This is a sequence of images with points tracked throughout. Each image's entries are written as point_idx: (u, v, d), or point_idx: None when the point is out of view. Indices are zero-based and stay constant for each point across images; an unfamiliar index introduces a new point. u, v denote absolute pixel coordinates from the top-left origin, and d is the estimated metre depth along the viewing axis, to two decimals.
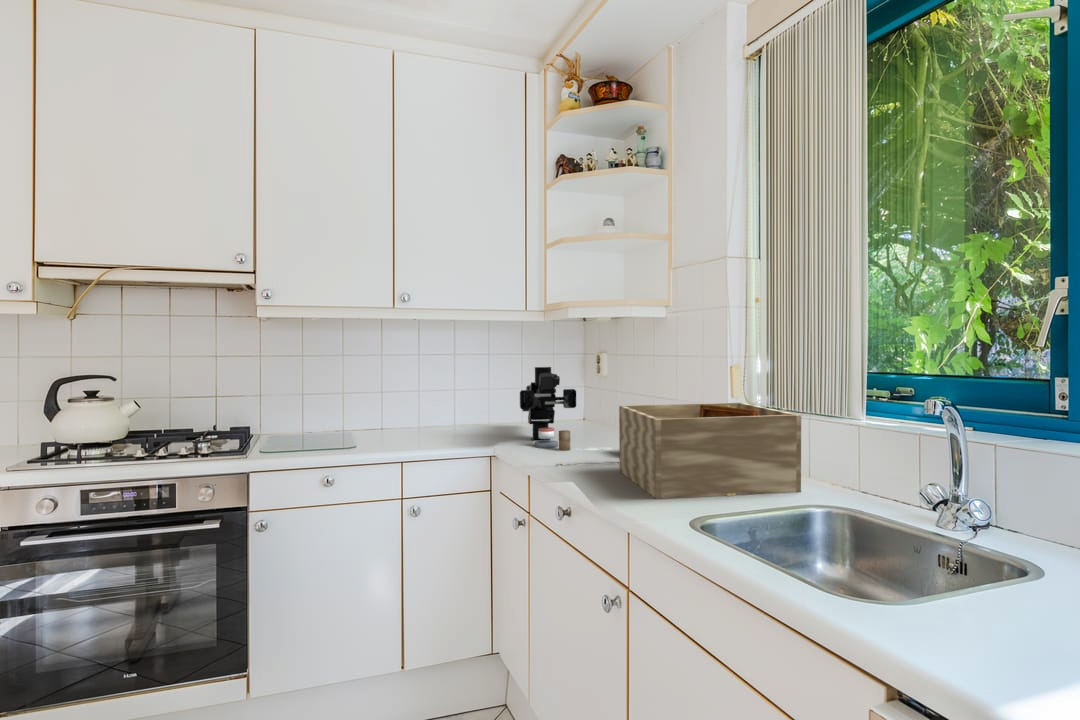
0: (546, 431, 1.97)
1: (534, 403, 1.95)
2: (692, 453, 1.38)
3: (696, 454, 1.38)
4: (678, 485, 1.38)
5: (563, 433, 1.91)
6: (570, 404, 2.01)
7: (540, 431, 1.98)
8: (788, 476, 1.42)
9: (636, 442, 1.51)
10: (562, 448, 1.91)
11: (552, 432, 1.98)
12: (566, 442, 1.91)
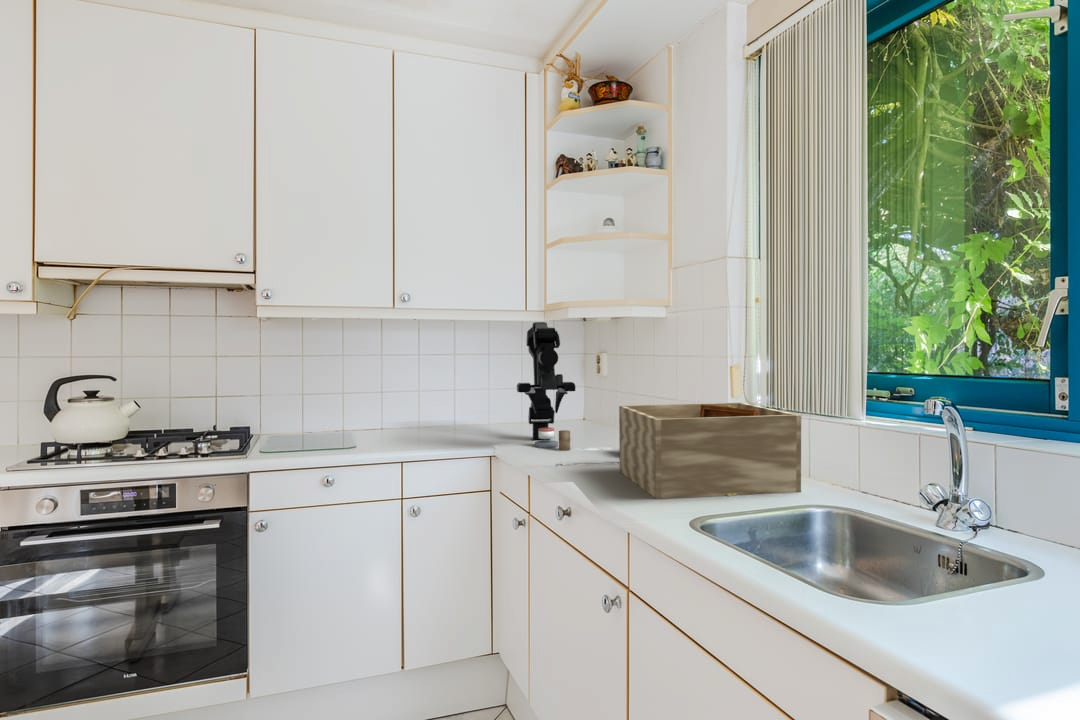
0: (546, 431, 1.97)
1: (533, 406, 2.00)
2: (692, 453, 1.38)
3: (696, 454, 1.38)
4: (678, 485, 1.38)
5: (563, 433, 1.91)
6: None
7: (540, 431, 1.98)
8: (788, 476, 1.42)
9: (636, 442, 1.51)
10: (562, 448, 1.91)
11: (552, 432, 1.98)
12: (566, 442, 1.91)
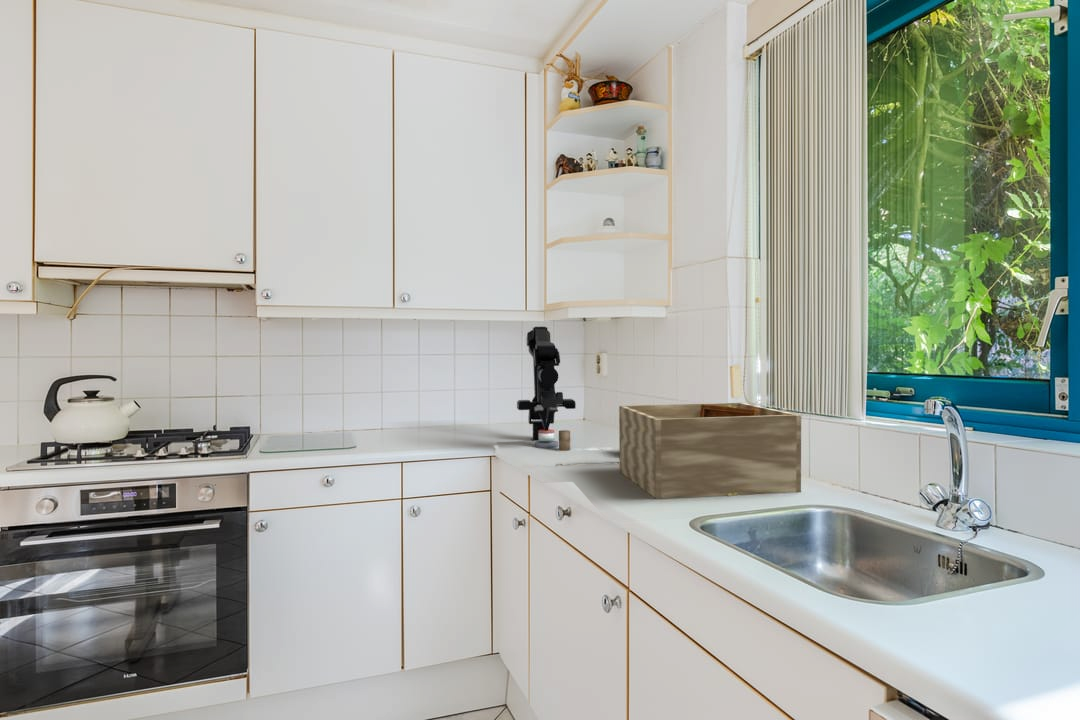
0: (546, 433, 1.97)
1: (542, 423, 2.00)
2: (692, 453, 1.38)
3: (696, 454, 1.38)
4: (678, 485, 1.38)
5: (563, 433, 1.91)
6: None
7: (540, 433, 1.98)
8: (788, 476, 1.42)
9: (636, 442, 1.51)
10: (562, 448, 1.91)
11: (552, 434, 1.98)
12: (566, 442, 1.91)
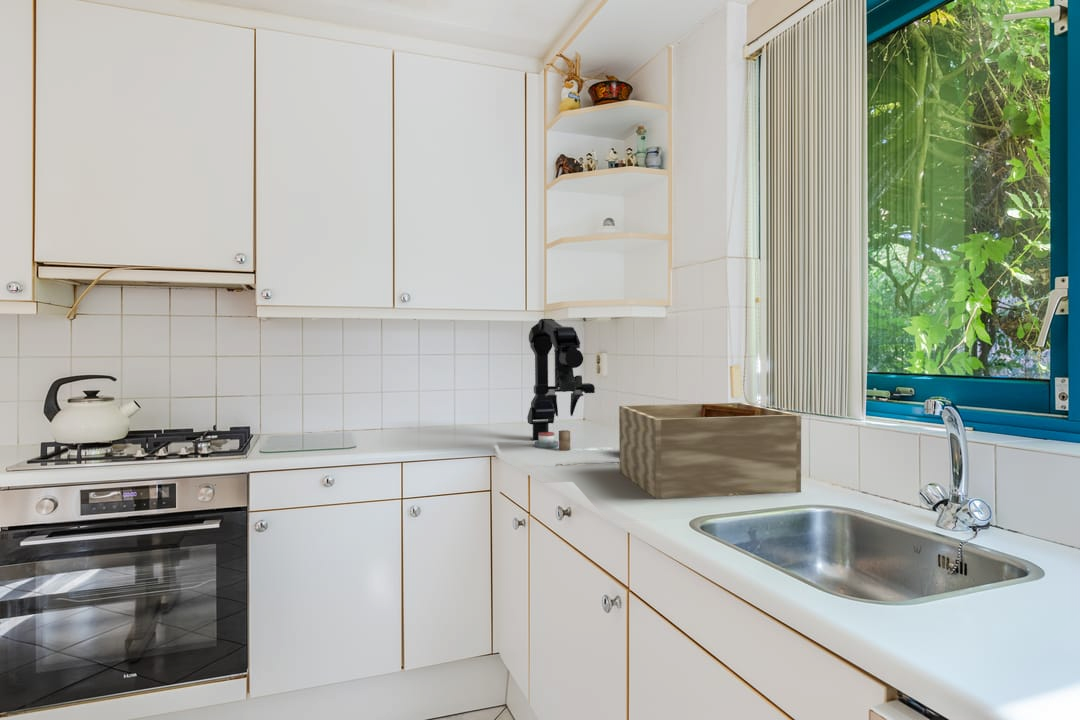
0: (546, 435, 1.97)
1: (553, 409, 1.93)
2: (692, 453, 1.38)
3: (696, 454, 1.38)
4: (678, 485, 1.38)
5: (563, 433, 1.91)
6: None
7: (540, 435, 1.98)
8: (788, 476, 1.42)
9: (636, 442, 1.51)
10: (562, 448, 1.91)
11: (552, 436, 1.98)
12: (566, 442, 1.91)
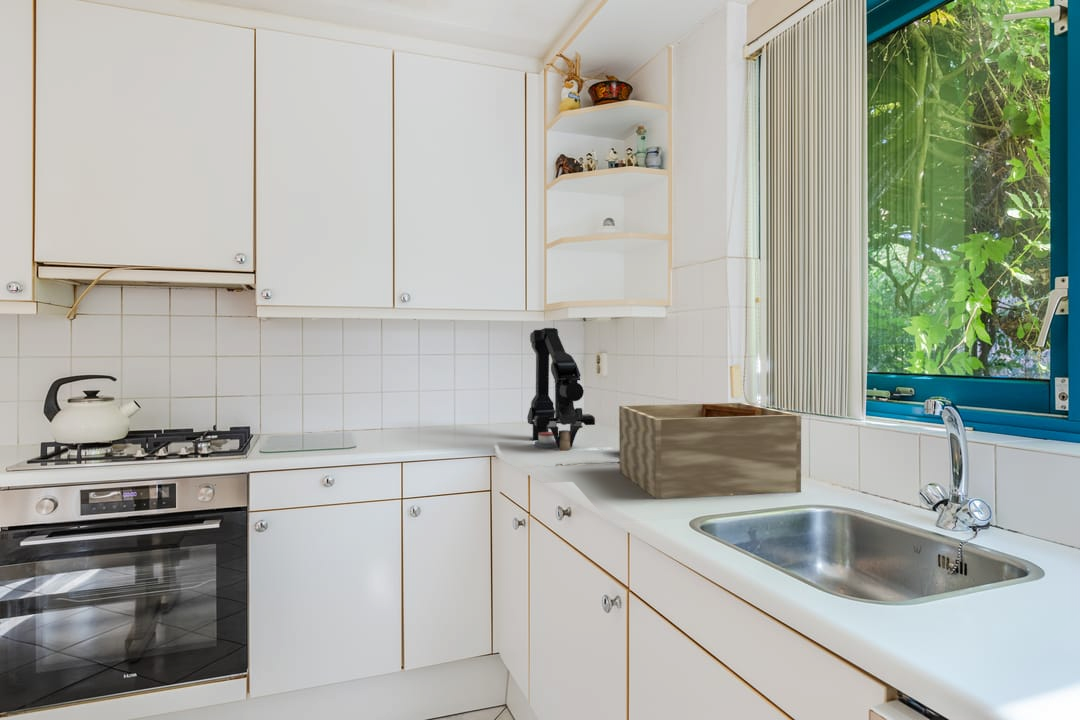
0: (546, 435, 1.97)
1: (555, 440, 1.93)
2: (692, 453, 1.38)
3: (696, 454, 1.38)
4: (678, 485, 1.38)
5: (563, 433, 1.91)
6: None
7: (540, 435, 1.98)
8: (788, 476, 1.42)
9: (636, 442, 1.51)
10: (562, 448, 1.91)
11: (552, 436, 1.98)
12: (566, 442, 1.91)
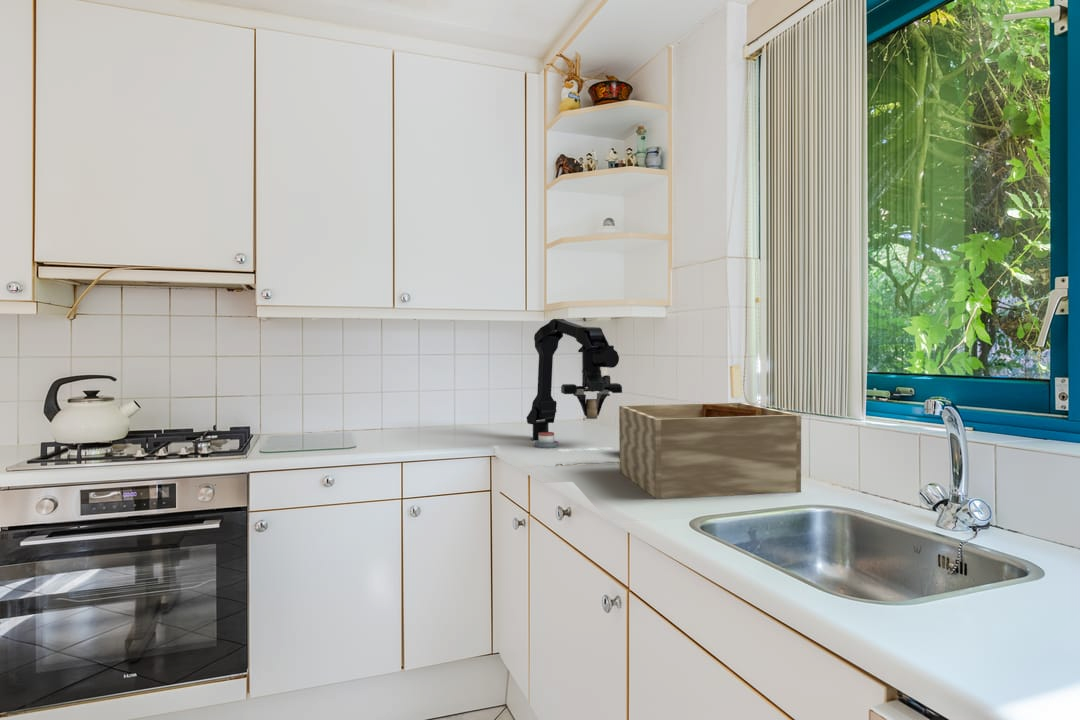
0: (546, 435, 1.97)
1: (582, 408, 1.94)
2: (692, 453, 1.38)
3: (696, 454, 1.38)
4: (678, 485, 1.38)
5: (590, 401, 1.92)
6: None
7: (540, 435, 1.98)
8: (788, 476, 1.42)
9: (636, 442, 1.51)
10: (590, 415, 1.92)
11: (552, 436, 1.98)
12: (593, 410, 1.92)
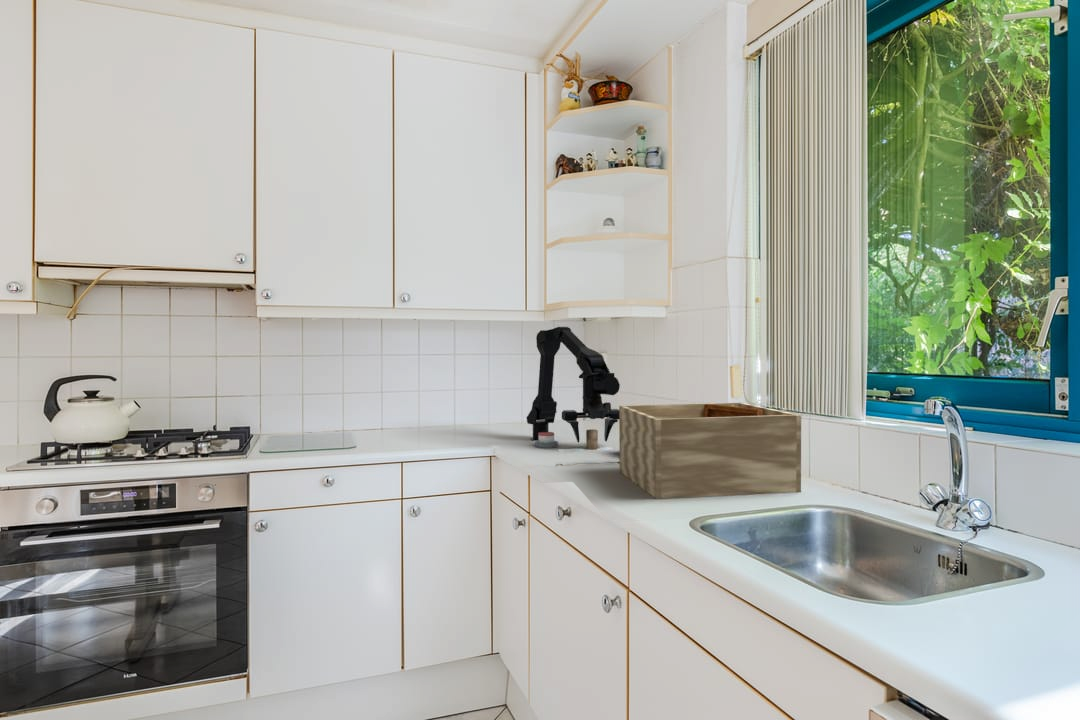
0: (546, 435, 1.97)
1: (575, 435, 1.94)
2: (692, 453, 1.38)
3: (696, 454, 1.38)
4: (678, 485, 1.38)
5: (591, 432, 1.92)
6: None
7: (540, 435, 1.98)
8: (788, 476, 1.42)
9: (636, 442, 1.51)
10: (590, 447, 1.92)
11: (552, 436, 1.98)
12: (593, 441, 1.92)
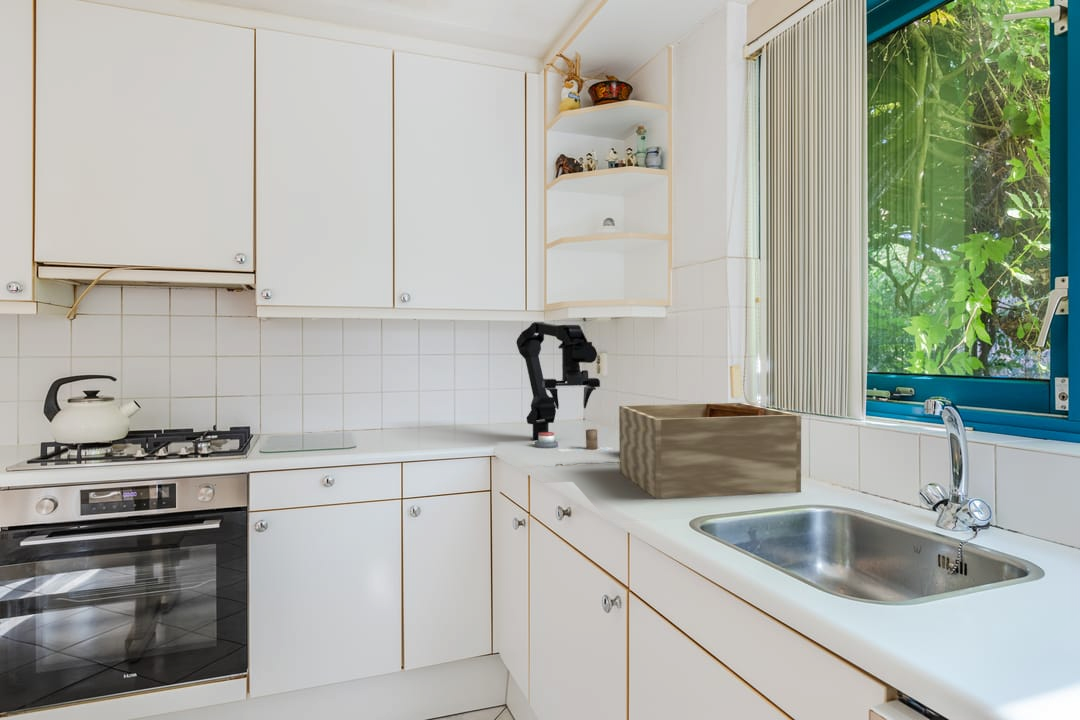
0: (546, 435, 1.97)
1: None
2: (692, 453, 1.38)
3: (696, 454, 1.38)
4: (678, 485, 1.38)
5: (590, 432, 1.92)
6: None
7: (540, 435, 1.98)
8: (788, 476, 1.42)
9: (636, 442, 1.51)
10: (590, 446, 1.92)
11: (552, 436, 1.98)
12: (593, 441, 1.92)
